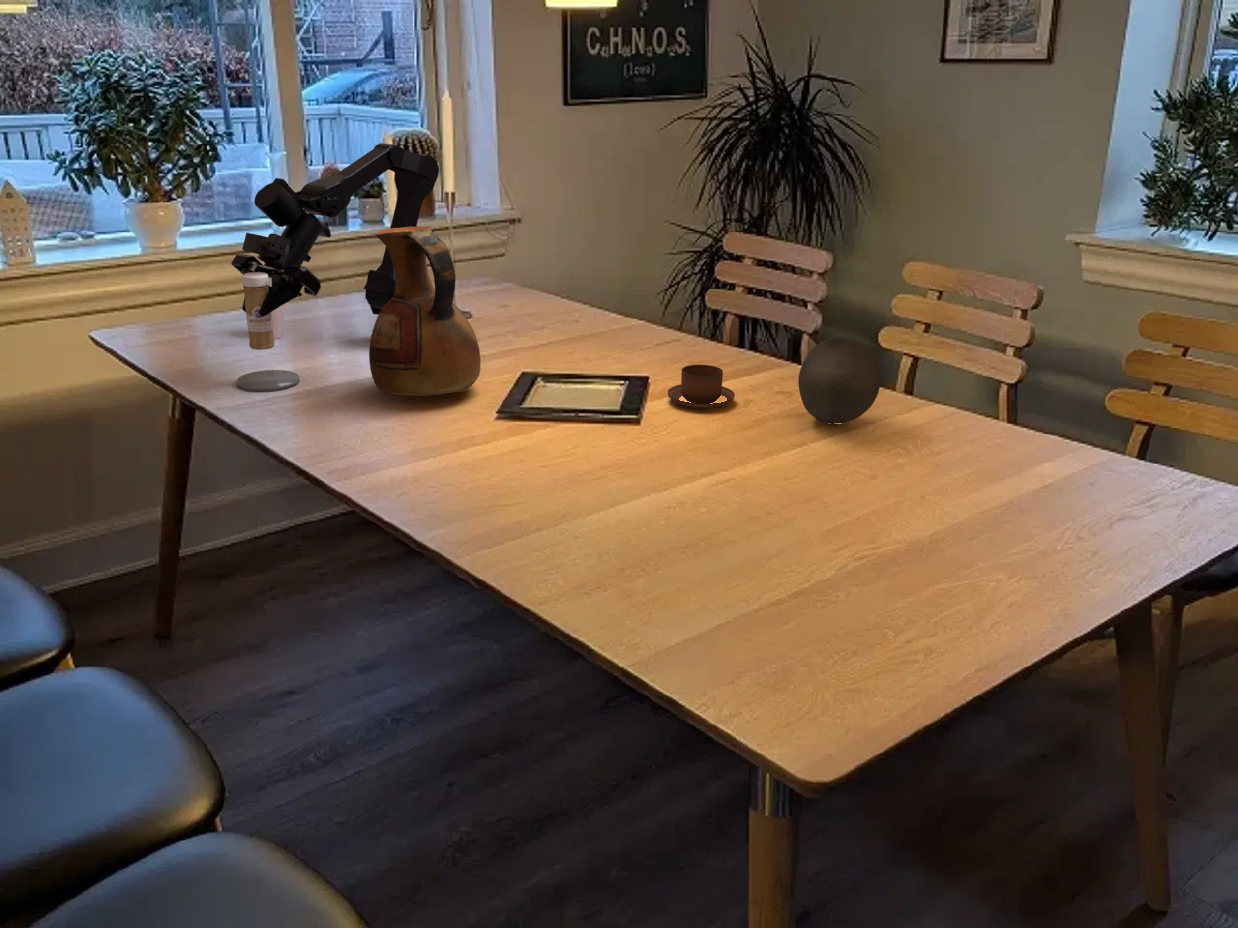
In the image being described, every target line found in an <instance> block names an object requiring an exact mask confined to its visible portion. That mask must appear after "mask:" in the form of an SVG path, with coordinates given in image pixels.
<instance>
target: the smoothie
mask: <svg viewBox="0 0 1238 928" xmlns="http://www.w3.org/2000/svg"><path fill="white" fill-rule="evenodd" d="M269 286H270V287H271V286H272V280H271V278H270V277H269ZM271 314H272V324H273V337H274V340H278V339H282V338H283V337H284V318H285V304H283V305H282V306H280V307H278V308H277V309H275V310H274V311H272V312H271Z"/></svg>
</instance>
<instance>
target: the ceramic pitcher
mask: <svg viewBox="0 0 1238 928" xmlns="http://www.w3.org/2000/svg"><path fill="white" fill-rule="evenodd" d="M436 229H437V228H436V226H435V225H434V226H432V225H426V226H425V225H417V226H416V227H403V228H392V229H390V228H387V229H382V230H380V231H378V233H376V234H375V238H377V239H379V240H380V241H381V242H382V243H383V244H384V246H385V248H386V247H387V249H388V251H389V253H390V255H391V258H392V262H393V266H394V271H395V277H396V287H395V293H394V296H393V297H392V298H391V299H390V300H389V301H388V302H387V303H386V304H385V306H384V307H383V308H382V310H381V312H380V313H379V315H378V316H377V317H376V319H375V322H374V325H373V329H372V331H371V334H370V335H371V336H370V340H369V349H368V360H369V361H368V362H369V368H370V373H371V377H372V379H373V383H374V385H375V386H376V388H377V389H379V390H381V391H384V392H386V393H390V394H392V395H398V396H411V397H414V396H417V397H428V396H438V395H446V394H451V393H455V392H456V393H461V392H465V391H467V390H468V389H470V388H471V387H472V386H473V385H474V384H475V383H476V381H477V380H478V378H479V376H480V374H481V352H480V346H479V343H478V340H477V336H476V333H475V331H474V328H473V327H472V326H471V323H470V322H469V320H468V318H467V317H466V315H465V314H464V312H463V311H462V310H461V309H460V308H459V306H457V305H456V304H455V303H454V297H455V290H456V280H457V278H456V268H455V266H454V262H453V259H452V256H451V253H450V250H449V248H448V246H447V244H446V242H444V240H442V238H441V237H440V236H439V235H438V233H436V232H435V231H436ZM427 260H428V262H429V265H430V268H431V271H432V275H433V280H434V281H433V282H434V285H433V283H432V280H431V277H430V274H429V270H428V264H427Z"/></svg>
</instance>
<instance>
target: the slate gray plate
mask: <svg viewBox="0 0 1238 928" xmlns="http://www.w3.org/2000/svg"><path fill="white" fill-rule="evenodd" d="M299 383H300V375H299V374H298V373H296V372H294V371H291V370H283V369H266V370H265V369H263V370H258V371H253V372H249V373H246V374H245V373H244V374H243V375H242V374H241V375H240V376H239V377H238V378H237V379H236V384H237V387H238V389H240V390H242V391H247V392H254V393H269V392H277V391H279V392H280V391H285V390H289V389H291V388H293V387H296V386H297V385H298V384H299Z"/></svg>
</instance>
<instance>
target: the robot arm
mask: <svg viewBox="0 0 1238 928" xmlns="http://www.w3.org/2000/svg"><path fill="white" fill-rule="evenodd" d="M437 162H438V161H437V160H436V158H435V157H433V156H432V155H430V154H422V153H416V152H413V151H410V150H408V149H405V148H403V147H400V146H398V145H397V144H394V143H393V144H392V143H391V144H390V143H383V142H381V143H380V142H379V143H377V144H376V145H374V147H373V149H371V150H370V151H368V152H367V153H365V154H364V155H362V156H361V157H359V158H358V159H357V160H355V161H354V162H351V163H350V164H349V165H348V166H346V167H344V168H343V169H341V170H340V171H339V172H338V173H335V174H333V175H331V176H326V177H325V176H324V177H322V178H321V177H320V178H318V179H316V180H314V181H310V182H308V183H306V184H304V185H303V186H302V188H301V189H300V190H298V191H295V190H294V189H292V187H291V186H290V185H289V183H288V182H287V181H286V180H285V179H284V178H279V177H275V178H274V179H273V180H272V181H273V182H271V183H268V184H266V185H264V187H262V188H261V189H259V190H258V191H257V193H255V197H254V205H255V207H256V208H257V209H259V210H260V212H262V213H263V214H264V215H265V216H266V217H267V218H268V219H269V220H271V221H272V222H273V224H274V225H276V226H277V227H279V228H280V227H283V228H284V227H285V228H284V229H283V231H282V233H281V234H277V233H269V235H268V236H265V235H261V234H256V233H251V232H246V233H245V236H244V240H243V245H242V248H241V250H242V251H245V252H250V253H252V254H255V255H258V256H257V258H258V259H259V260H260V261H259V260H258V259H257V258H256V257H255V256H254V255H249V254H244V253H240V254H236V255H235V256H234V258H233V260H232V261H231V262H230V263H231V266H233V267H234V268H235V269H236V270H237V271H238V272H239V273H240V274H242V275H243V274H245V273H251V272H262V273H266V274H268V278H269V277H270V278H271V280H272V286H271V287H270V285H269V287H268V289H269V292H268V294H267V296H266V298H265V300H264V302H263V304H262V306H261V308H260V311H259V314H260V315H261V316H263V317H264V316H266V315H267V314H269V313H270V312H272V311H274V310H275V309H277V308H278V307H280V306H282V305H283V304H284V305H286V304H287V303H289V302H291V301H292V300H294V299H296V298H298V297H300V298H301V296H303V294H302V292H301V290H302V288H303V290H304V291H303V292H304V293H305V294H306V295H309V296H314V297H317V296H318V294H319V292H320V290H321V288H322V284H321V280H320V279H319V278H318V277H317V276H316V275H315V274H314V273H313V272H311V270H310V269H308V267H306V266H304V265H302V264H303V263H304V262H307V263H309V262H310V261H311V259H312V256H310V255H309V254H310V252H311V250H312V248H313V247H314V245H315V243H316V242H317V240H318V239H319V237H324V238H331V237H332V234H331V230H330V227H329V222H328V221H327V222H326V221H321V220H320V219H319V218H318V217H317V216H321V217H326V218H335V217H338V216H339V215H340V214H341V213H342V212H344V210H345V209H347V207H348V206H349V205H350V202H351V199H352V197H353V195H355V193H357V192H358V191H360V190H361V189H363V188H364V187H365V186H367V185H369V184H370V183H371V182H373V181H374V180H376V179H377V178H379V177H380V176H381V175H383V174H384V173H386V172H387V171H391V172H393V173H394V179H393V180H394V181H393V182H394V184H395V188H396V190H397V199H396V201H395V207H394V210H393V215H392V219H391V223H390V224H391V225H390V228H389V229H392V228H403V227H417V226H418V221H419V217H420V213H421V208H422V205H423V201H424V200H425V199H426V198H427V196H429V194H430V193H431V192H433V190H434V188H435V186H436V182H437V180H438V177H439V173H440V165H438V163H437ZM262 262H263V263H264V264H263V263H262ZM270 278H269V279H270ZM395 287H396V277H395V271H394V266H393V262H392V258H391V255H390V253H389V251H388V249H387V247H386V246H385V250H384V253H383V257H382V260H381V264H380V265H379V266H378V268H376V270H375V269H369V271H368V272H367V280H366V283H365V285H364V287H363V289H364V290H365V294H364V299H366V301H367V304H368V305H369V307H370V310H371V312H372V315H379V313H380V312H381V310H382V308H383V307H384V306H385V304H386V303H387V302H388V301H389V300H390V299H391V298H392V297H393V296H394V293H395ZM241 310H242V311H243V312H244V313H246V308H245V296H244V298H243V303H242V307H241Z"/></svg>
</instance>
